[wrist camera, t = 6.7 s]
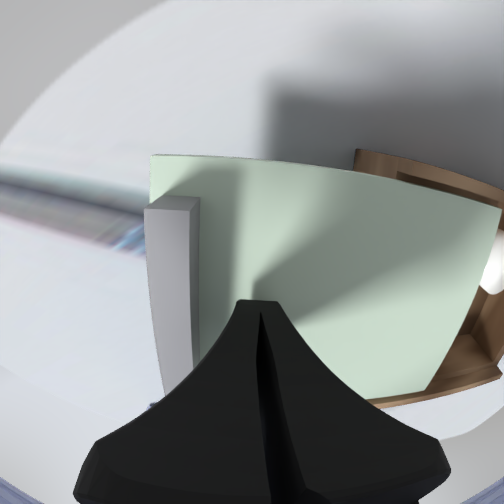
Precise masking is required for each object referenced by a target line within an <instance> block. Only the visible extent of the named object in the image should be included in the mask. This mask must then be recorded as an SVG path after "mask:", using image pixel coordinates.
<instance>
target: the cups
mask: <svg viewBox="0 0 504 504" xmlns="http://www.w3.org/2000/svg"><path fill="white" fill-rule="evenodd" d="M479 285H480V286H481V287H482V288H483V289H484V290H485V291H487V292H488V293H489V294H497V293H499V292H501V291H502V290H503V289H504V231H503V230H501V229H499V228H498V229H497V233H496V236H495V240H494V243H493V246H492V250H491V253H490V256H489V259H488V262H487V265H486V268H485V271H484V273H483V276H482V279H481V281H480V284H479Z"/></svg>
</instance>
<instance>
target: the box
mask: <svg viewBox="0 0 504 504" xmlns="http://www.w3.org/2000/svg"><path fill="white" fill-rule="evenodd" d="M353 171H354V172H360V173H366V174H371V175H376V176H381V177H386V178H391V179H396V180H401V181H405V182H410V183H414V184H418V185H423V186H427V187H431V188H435V189H439V190H443V191H446V192H450V193H454V194H457V195H461V196H464V197H468V198H471V199H475V200H478V201H481V202H484V203H488V204H491V205H494V206H496V207H498V208H500V209H502V213H501V217H500V221H499V225H498V228H499V229H501V230H503V231H504V190H501V189H499V188H496V187H494V186H491V185H489V184H486V183H483V182H481V181H478V180H475V179H472V178H470V177H467V176H464V175H461V174H458V173H455V172H452V171H449V170H445V169H442V168H439V167H436V166H432V165H429V164H425V163H422V162H418V161H415V160H410V159H406V158H402V157H397V156H392V155H387V154H383V153H377V152H372V151H367V150H361V149H356V154H355V161H354V168H353ZM503 354H504V289H503V290H502V291H501V292H499V293H497V294H489V293H488V292H487V291H485V290H484V289H483V288H482V287H481V286H480V285H479V287H478V289H477V292H476V294H475V296H474V299H473V301H472V304H471V306H470V308H469V310H468V313H467V315H466V317H465V319H464V321H463V323H462V325H461V327H460V329H459V331H458V333H457V335H456V337H455V339H454V341H453V343H452V345H451V347H450V349H449V351H448V352H447V354H446V356H445V358H444V359H443V361H442V363H441V365H440V366H439V368H438V370H437V371H436V373H435V375H434V376H433V378H432V379H431V381H430V383H429V384H428V386H427V387H426V389H425V390H424V391H419V392H413V393H407V394H401V395H395V396H388V397H381V398H373V399H365V400H367V401H368V402H369V403H371V404H372V405H374V406H375V407H377V408H378V409H381V408H388V407H394V406H400V405H405V404H411V403H416V402H420V401H425V400H429V399H434V398H438V397H442V396H446V395H450V394H453V393H457V392H461V391H464V390H467V389H471V388H474V387H477V386H480V385H483V384H486V383H489V382H492V381H495V380H497V379H500V377H501V376H502V374H503V373H502V372H501V371H500V369H499V368H498V367H497V364H498V363H499V361H500V359H501V358H502V356H503Z"/></svg>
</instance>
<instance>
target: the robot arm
mask: <svg viewBox="0 0 504 504" xmlns="http://www.w3.org/2000/svg"><path fill="white" fill-rule="evenodd" d="M450 473H451V468H450V465H449V463H448V461H447V458H446V456H445V454H444V451H443V449H442V447H441V445H440V443H439V441H438V439H436V438H433V437H431V436H429V435H427V434H424V433H422V432H420V431H418V430H416V429H414V428H411V427H409V426H407V425H405V424H403V423H402V422H400V421H398V420H396V419H395V418H393V417H391V416H390V415H388V414H386V413H385V412H383V411H381V410H380V409H378V408H377V407H375V406H374V405H372V404H371V403H369V402H368V401H367V400H365V399H364V398H363V397H361V396H360V395H359V394H357V393H356V392H355V391H353V390H352V389H351V388H350V387H349V386H347V385H346V384H345V383H344V382H343V381H342V380H341V379H340V378H338V377H337V376H336V375H335V374H334V373H333V372H332V371H331V370H330V369H329V368H328V367H327V366H326V365H325V364H324V363H323V362H322V361H321V359H320V358H319V357H318V356H317V355H316V354H315V353H314V351H313V350H312V349H311V348H310V347H309V345H308V344H307V343H306V342H305V340H304V339H303V338H302V336H301V335H300V334H299V332H298V331H297V330H296V328H295V327H294V325H293V324H292V322H291V321H290V319H289V318H288V316H287V315H286V313H285V312H284V310H283V308H282V307H281V305H280V304H279V303H278V301H263V300H247V299H239V300H238V301H237V302H236V305H235V308H234V311H233V313H232V315H231V317H230V319H229V321H228V323H227V324H226V326H225V328H224V329H223V331H222V333H221V334H220V336H219V337H218V339H217V340H216V342H215V343H214V344H213V346H212V347H211V348H210V350H209V351H208V353H207V354H206V355H205V356H204V358H203V359H202V360H201V361H200V362H199V364H198V365H197V366H196V367H195V368H194V369H193V370H192V371H191V372H190V373H189V375H188V376H187V377H186V378H185V379H183V380H182V381H181V382H180V383H179V384H178V385H177V386H176V387H175V388H174V389H173V390H172V391H171V392H170V393H168V394H167V395H166V396H165V397H164V398H162V399H161V400H160V401H159V402H157V403H156V404H155V405H153V406H149V407H147V409H146V411H145V412H144V413H142V414H141V415H140V416H138V417H137V418H135V419H134V420H132V421H131V422H129V423H127V424H126V425H124V426H122V427H121V428H119V429H117V430H115V431H114V432H112V433H110V434H108V435H106V436H105V437H103V438H101V439H99V440H97V441H96V442H95V443H94V445H93V447H92V448H91V450H90V452H89V453H88V455H87V457H86V459H85V461H84V463H83V465H82V468H81V470H80V473H79V476H78V479H77V482H76V485H75V488H74V491H73V495H74V497H75V499H76V500H77V501H78V502H79V503H80V504H419V502H418V500H419V499H421V498H422V497H424V496H425V495H427V494H428V493H430V492H431V491H432V490H434V489H435V488H437V487H438V486H439V485H441V484H442V483H443V482H444V481H446V479H447V478H448V477H449V475H450ZM0 504H44V503H42V502H40V501H38V500H36V499H34V498H33V497H31V496H29V495H27V494H26V493H24V492H23V491H21V490H19V489H18V488H16V487H15V486H13V485H12V484H10V483H9V482H7V481H6V480H4V479H3V478H1V477H0ZM460 504H504V477H503V478H501V479H500V480H498V481H497V482H495V483H494V484H492V485H491V486H489V487H488V488H486V489H484V490H483V491H481V492H480V493H478V494H476V495H475V496H473V497H471V498H469V499H468V500H466V501H464V502H462V503H460Z"/></svg>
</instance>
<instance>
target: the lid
mask: <svg viewBox="0 0 504 504" xmlns="http://www.w3.org/2000/svg"><path fill="white" fill-rule="evenodd" d="M501 213H502V209H500V208H498V207H496V206H494V205H491V204H488V203H484V202H481V201H478V200H475V199H471V198H468V197H464V196H461V195H457V194H454V193H450V192H446V191H443V190H439V189H435V188H431V187H427V186H423V185H418V184H414V183H410V182H405V181H401V180H396V179H391V178H386V177H381V176H376V175H371V174H366V173H360V172H354V171H348V170H342V169H336V168H329V167H323V166H315V165H308V164H300V163H292V162H283V161H273V160H263V159H252V158H239V157H224V156H205V155H171V154H156V155H152V156H150V204H149V205H148V206H147V207H145V208H144V227H145V247H146V262H147V275H148V286H149V296H150V305H151V313H152V321H153V329H154V336H155V342H156V349H157V355H158V361H159V367H160V372H161V378H162V383H163V388H164V393H165V396H166V395H167V394H168V393H170V392H171V391H172V390H173V389H174V388H175V387H176V386H177V385H178V384H179V383H180V382H181V381H182V380H183V379H185V378H186V377H187V376H188V375H189V373H190V372H191V371H192V370H193V369H194V368H195V367H196V366H197V365H198V364H199V362H200V361H201V360H202V359H203V358H204V356H205V355H206V354H207V353H208V351H209V350H210V348H211V347H212V346H213V344H214V343H215V342H216V340H217V339H218V337H219V336H220V334H221V333H222V331H223V329H224V328H225V326H226V324H227V323H228V321H229V319H230V317H231V315H232V313H233V311H234V308H235V305H236V302H237V301H238V300H239V299H247V300H263V301H278V303H279V304H280V305H281V307H282V308H283V310H284V312H285V313H286V315H287V316H288V318H289V319H290V321H291V322H292V324H293V325H294V327H295V328H296V330H297V331H298V332H299V334H300V335H301V336H302V338H303V339H304V340H305V342H306V343H307V344H308V345H309V347H310V348H311V349H312V350H313V351H314V353H315V354H316V355H317V356H318V357H319V358H320V359H321V361H322V362H323V363H324V364H325V365H326V366H327V367H328V368H329V369H330V370H331V371H332V372H333V373H334V374H335V375H336V376H337V377H338V378H340V379H341V380H342V381H343V382H344V383H345V384H346V385H347V386H349V387H350V388H351V389H352V390H353V391H355V392H356V393H357V394H359V395H360V396H361V397H363V398H364V399H373V398H381V397H388V396H395V395H401V394H407V393H413V392H419V391H424V390H425V389H426V387H427V386H428V384H429V383H430V381H431V379H432V378H433V376H434V375H435V373H436V371H437V370H438V368H439V366H440V365H441V363H442V361H443V359H444V358H445V356H446V354H447V352H448V351H449V349H450V347H451V345H452V343H453V341H454V339H455V337H456V335H457V333H458V331H459V329H460V327H461V325H462V323H463V321H464V319H465V317H466V315H467V313H468V310H469V308H470V306H471V304H472V301H473V299H474V296H475V294H476V292H477V289H478V287H479V284H480V281H481V279H482V276H483V273H484V271H485V268H486V265H487V262H488V259H489V256H490V253H491V250H492V246H493V243H494V240H495V236H496V233H497V229H498V225H499V221H500V217H501Z"/></svg>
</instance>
